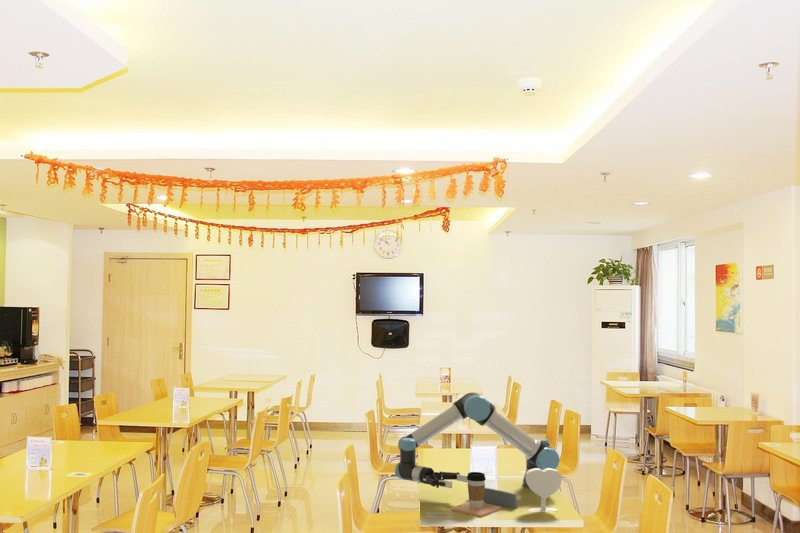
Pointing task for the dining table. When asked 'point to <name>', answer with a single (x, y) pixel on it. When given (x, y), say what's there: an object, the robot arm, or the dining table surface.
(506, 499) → the gray rectangular board
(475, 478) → the coffee cup
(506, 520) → the dining table surface
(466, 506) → the terracotta tile
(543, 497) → the heart sculpture
